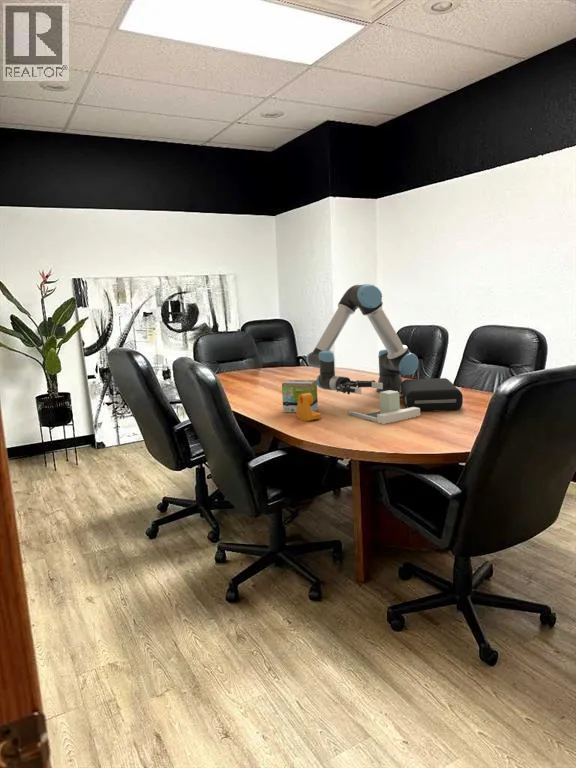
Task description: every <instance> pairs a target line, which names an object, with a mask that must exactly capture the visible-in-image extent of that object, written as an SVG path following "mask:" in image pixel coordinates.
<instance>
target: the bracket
mask: <svg viewBox="0 0 576 768" xmlns="http://www.w3.org/2000/svg"><path fill="white" fill-rule="evenodd" d="M311 404H313V396H312V394H311V393H305V394H300V395H299V397H298V404H297V411H296V412H295V413H296V417H297V418H299V420H301V421H303V422H308V421H314V419H315V420H319V419H322V413H320V412H317V411H311V408H310V405H311Z"/></svg>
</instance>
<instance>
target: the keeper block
mask: <svg viewBox="0 0 576 768" xmlns="http://www.w3.org/2000/svg"><path fill="white" fill-rule="evenodd" d="M399 392H400V391H399ZM399 392H398V391H392V390H388V391H383V392H379V408H380V409H379V410H380V414H382V413H387V412H392V411H397V410H400V408H401V407H400V398H399V396H400V394H399Z"/></svg>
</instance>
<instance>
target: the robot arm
mask: <svg viewBox="0 0 576 768" xmlns="http://www.w3.org/2000/svg"><path fill="white" fill-rule="evenodd" d="M383 305H384V302H383V294H382V291H381V289H380V288H379V287H378V286H376V285H375V284H371V283H364V284H355V285H352V286H351V287H349V288H348V289H347V290H346V291H345V292H344V294H343V295H342V297H341V298H340V300H339V302H338V303H337V309H336V311H335V313H333V316H332V318H331V320H330V322H329V323H328V324H327V326H326V328H325V330H324V332H323V333H322V335H321V337H320V338H319V340H318V342H317V344H316V346H315V347H314V349H313V351H312V352H309V353H308V354H307V355H306V358H305V361H306V363H307V365H308V366H310V367H312V368H317V369H319V375H318V376H317V377H316V380H317V388H320V389H323V390H329V391H334V392H336V393H339V392H340V393H342V394H346V393H347V395H350V394H357V395H362V388H373V389H376V391H377V392H379V393H380V392H383V391H388V390H392V391H399V392H400V386H401V383H402V382H403V378H402V376H410V375H413V374H415V372H417V369H418V367H419V359H418V356H417V355H416V354H415V353H412V352H411V351H410V349H409V348H408V346H407V345H405V344H403V343H402V340H401V339H400V338H399V335H398V334H397V332H396V330H395V328H394V327H393V325H392V323H391V321H390V319H389V318H388V316H387V314H386V312H385V311H384V309H383ZM357 309H359V310H360V312H361V314H362V316H366V317H367V318H368V320H369V322H370V324H371V325H372V327H373V329H374V331H375V333H376V334H377V336H378V337H379V340H380V341H381V343H382V344H383V346H384V348H385V349H380V350H379V351H378V372H379V373H378V376H379V377H378V380H377V381H376V380H374V379H372V380H358V379H357V380H351V378H349V377H348V376H341V375H336V371H335V367H336V366H335V355H334V352H333V350H331V349H332V348H333V346H334V344H335V342H336V341H337V339H338V338H339V336H340V334H341V332H342V330H343V329H344V327H345V325H346V324H347V322H348V320H349V319H350V317H351V315H353V314H355V313H356V310H357Z"/></svg>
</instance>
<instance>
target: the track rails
mask: <svg viewBox="0 0 576 768" xmlns="http://www.w3.org/2000/svg"><path fill="white" fill-rule="evenodd" d="M401 409H403V408H401V407H400V410H401ZM348 414H349V415H348ZM365 414H366V413H365ZM365 414H364V413H360V412H357V411H353V410H347V415H348V416H352V415H353V416H352V417H355V416H356V418H359V417H360V419H363V420H366V419H367V421H370V420H371V422H374V423H377V418H376V417H372V416H368V415H365Z"/></svg>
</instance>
